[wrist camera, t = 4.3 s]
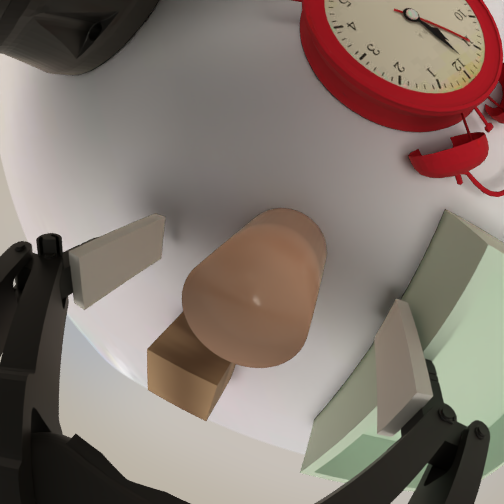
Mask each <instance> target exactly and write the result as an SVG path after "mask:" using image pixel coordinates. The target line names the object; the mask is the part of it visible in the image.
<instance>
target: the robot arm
mask: <svg viewBox="0 0 504 504" xmlns="http://www.w3.org/2000/svg"><path fill="white" fill-rule="evenodd" d="M158 1H159V0H0V53H2V54H5V55H7V56H10V57H12V58H15V59H17V60H19V61H22V62H24V63H27V64H29V65H31V66H33V67H36V68H38V69H40V70H42V71H45V72H47V73H51V74H62V75H79V74H83V73H86V72H88V71H91V70H93V69H94V68H96V67H98V66H99V65H101V64H102V63H104V62H105V61H106V60H108V59H109V58H110V57H111V56H113V55H114V54H115V53H116V52H117V51H118V50H119V49H120V48H121V47H122V46H123V45H124V44H125V43H126V42H127V41H128V40H129V39H130V38H131V37H132V36H133V35H134V33H135V32H136V31H137V30H138V29H139V28H140V26H141V25H142V24H143V22H144V21H145V20H146V19H147V17H148V16H149V14H150V13H151V11H152V10H153V9H154V7H155V5H156V4H157V2H158ZM165 218H166V217H164V216H161V215H159V214H156V213H155V214H153V215H150V216H148V217H145V218H143V219H140V220H138V221H135V222H133V223H131V224H128V225H126V226H124V227H121V228H119V229H117V230H114V231H112V232H110V233H107V234H105V235H103V236H101V237H97V238H93V239H91V240H89V241H87V242H84V243H82V244H81V245H78V246H76V247H73V248H71V249H69V250H67V251H65V252H63V251H62V237H61V236H60V235H58V234H54V233H48V234H44V235H41V236H39V237H38V238H37V239H36V241H37V250H38V254H35V253H33V252H32V244H30V243H29V242H24V241H21V242H17V243H15V244H13V245H12V246H11V247H10V248H9V249H7V250H6V251H5V252H4V253H3V254H2V256H0V356H1V354H2V353H3V354H2V358H1V362H0V504H190V503H188V502H186V501H183V500H181V499H179V498H177V497H175V496H173V495H171V494H169V493H167V492H164V491H160V490H157V489H153V488H150V487H147V486H144V485H140V484H137V483H134V482H132V481H129V480H127V479H126V478H125V477H124V476H123V475H122V474H121V473H120V472H119V471H118V470H117V469H116V468H115V467H114V466H113V465H112V464H111V463H110V462H109V461H108V460H107V459H106V458H105V456H103V454H102V453H101V452H99V451H98V450H97V449H95V448H94V447H92V446H91V445H90V444H88V443H87V442H86V441H85V440H83V439H82V438H81V437H79V436H78V435H77V434H75V435H74V436H73V437H72V438H70V437H67V436H64V435H63V434H62V430H61V427H60V423H59V416H58V415H59V379H60V378H59V377H60V364H61V353H62V344H63V335H64V328H65V321H66V315H67V309H68V303H69V301H68V295H70V294H72V293H73V297H74V303H75V304H77V305H78V306H79V307H81V308H82V309H84V310H85V309H87V308H88V307H90V306H91V305H92V304H94V303H95V302H97V301H98V300H100V299H101V298H103V297H104V296H106V295H107V294H108V293H110V292H111V291H113V290H114V289H116V288H117V287H119V286H120V285H122V284H123V283H125V282H126V281H128V280H129V279H131V278H132V277H134V276H135V275H137V274H138V273H140V272H141V271H143V270H144V269H146V268H147V267H149V266H150V265H152V264H153V263H155V262H157V261H158V260H160V259H161V255H162V245H163V235H164V226H165ZM14 278H15V282H16V285H15V286H14V287H13V281H14ZM374 342H375V357H376V376H377V434H378V435H383V436H389V437H393V436H394V435H395V434H396V433H397V432H398V431H400V430H401V438H400V439H399V440H397V441H396V442H395V443H394V444H393V445H392V446H390V447H389V448H388V449H387V450H386V451H385V452H384V453H383V454H382V455H381V456H380V457H378V458H377V459H376V460H375V461H374V462H372V463H371V464H370V465H369V466H367V467H366V468H365V469H364V470H362V471H361V472H360V473H359V474H357V475H356V476H355V477H353V478H352V479H351V480H349V481H348V482H346V483H345V484H344V485H342V486H341V487H340V488H338V489H337V490H335V491H334V492H332V493H331V494H329V495H328V496H326V497H324V498H323V499H321V500H320V501H318V502H317V503H315V504H390V503H391V502H392V501H393V500H394V499H395V498H396V497H397V496H398V495H399V494H400V493H401V492H402V491H403V490H404V489H405V488H406V487H407V486H408V485H409V484H410V483H411V481H412V480H413V479H414V478H415V477H416V476H417V475H418V474H419V472H420V471H421V470H422V469H423V468H424V467H425V465H426V464H427V463H428V465H427V467H426V470H425V472H424V474H423V476H422V478H421V480H420V482H419V484H418V486H417V488H416V490H415V491H414V493H413V495H412V497H411V499H410V501H409V503H408V504H474V502H475V499H476V496H477V493H478V489H479V486H480V482H481V479H482V475H483V471H484V467H485V463H486V458H487V453H488V448H489V443H490V432H489V429H488V427H487V425H486V424H484V423H483V422H482V421H479V420H475V421H473V422H472V423H471V424H470V425H468V426H465V425H463V424H461V423H459V422H457V416H456V413H455V411H454V410H453V409H452V407H450V406H449V405H448V404H446V403H444V401H443V397H442V392H441V388H440V384H439V382H438V381H439V380H438V376H437V372H436V369H435V366H434V364H433V362H432V361H431V360H428V359H425V358H424V354H423V350H422V347H421V343H420V339H419V336H418V332H417V329H416V326H415V322H414V319H413V316H412V313H411V310H410V307H409V304H408V302H405V301H402V300H399V299H396V300H395V302H394V304H393V306H392V307H391V309H390V311H389V313H388V315H387V317H386V318H385V320H384V322H383V324H382V326H381V327H380V329H379V331H378V333H377V334H376V336H375V338H374Z"/></svg>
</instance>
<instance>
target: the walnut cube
mask: <svg viewBox="0 0 504 504" xmlns="http://www.w3.org/2000/svg"><path fill="white" fill-rule="evenodd" d="M235 365H236V364H234V363H232V362H229V361H227V360H225V359H223V358H221V357H219V356H218V355H216V354H215V353H213V352H212V351H211V350H209V349H208V348H207V347H206V346H205V345H204V344H203V343H202V342H201V341H200V340H199V339H198V338H197V337H196V335H195V334H194V333H193V331H192V330H191V328H190V326H189V324H188V322H187V320H186V318H185V315H184V311H183V312H182V313H181V314H180V315H179V316H178V318H177V319H176V320H175V321H174V322H173V323H172V324H171V325H170V326H169V327H168V328H167V329H166V330H165V331H164V332H163V333H162V334H161V335H160V336H159V337H158V338H157V339H156V340H155V341H154V343H153V344H152V345H151V346H150V347H149V348H148V349H147V375H148V390H149V391H151V392H152V393H154V394H156V395H158V396H159V397H161V398H163V399H165V400H166V401H168V402H170V403H172V404H174V405H175V406H177V407H179V408H181V409H183V410H185V411H187V412H189V413H191V414H193V415H195V416H197V417H199V418H201V419H203V420H205V421H207V419H208V417H209V415H210V414H211V412H212V410H213V408H214V407H215V405H216V403H217V402H218V400H219V398H220V396H221V395H222V393H223V391H224V389H225V387H226V386H227V384H228V382H229V380H230V379H231V376H232V373H233V370H234V368H235Z"/></svg>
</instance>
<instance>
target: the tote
mask: <svg viewBox="0 0 504 504" xmlns="http://www.w3.org/2000/svg"><path fill="white" fill-rule="evenodd" d="M401 300H402V301H405V302H408V304H409V307H410V310H411V313H412V316H413V319H414V322H415V326H416V329H417V332H418V336H419V339H420V343H421V347H422V350H423V354H424V358H425V359H428V360H431V361H432V362H433V364H434V366H435V369H436V372H437V376H438V380H439V381H438V382H439V384H440V388H441V392H442V397H443V401H444V403H446V404H448V405H449V406H450V407H452V409H453V410H454V411H455V413H456V416H457V422H459V423H461V424H463V425H465V426H468V425H470V424H471V423H472V422H473V421H475V420H479V421H482V422H483V423H484V424H486V425H487V427H488V429H489V432H490V443H489V448H488V453H487V458H486V463H485V467H484V471H483V475H482V479H484V478H485V477H487V476H488V475H490V474H491V473H493V472H494V471H496V470H497V469H499V468H500V467H501V466H503V465H504V243H503V242H501V241H500V240H498V239H496V238H495V237H493V236H492V235H490V234H488V233H487V232H485V231H483V230H482V229H480V228H478V227H477V226H475V225H473V224H471V223H470V222H468V221H466V220H464V219H463V218H461V217H459V216H457V215H455V214H453V213H452V212H450V211H448V210H446V209H445V211H444V213H443V216H442V218H441V221H440V223H439V225H438V227H437V230H436V232H435V234H434V236H433V239H432V241H431V243H430V245H429V247H428V249H427V251H426V253H425V255H424V257H423V259H422V261H421V263H420V265H419V267H418V269H417V271H416V273H415V275H414V277H413V279H412V281H411V282H410V284H409V286H408V288H407V290H406V291H405V293H404V295H403V297H402V298H401ZM400 438H401V430H400V431H398V432H397V433H396V434H395V435H394V436H393V437H389V436H383V435H378V434H377V376H376V357H375V342H374V343H373V345H372V346H371V348H370V349H369V350H368V352H367V353H366V355H365V356H364V358H363V359H362V360H361V362H360V363H359V365H358V366H357V367H356V369H355V370H354V371H353V373H352V374H351V375H350V377H349V378H348V379H347V381H346V382H345V383H344V385H343V386H342V387H341V388H340V390H339V391H338V392H337V393H336V395H335V396H334V397H333V398H332V400H331V401H330V402H329V403H328V404H327V406H326V407H325V408H324V409H323V410H322V411H321V413H320V414H319V415H318V416H317V417H316V418H315V419H314V422H313V427H312V431H311V435H310V438H309V442H308V446H307V450H306V454H305V457H304V461H303V464H302V468H301V471H300V473H303V474H307V475H311V476H315V477H319V478H323V479H328V480H332V481H337V482H342V483H346V482H348V481H349V480H351V479H352V478H353V477H355V476H356V475H357V474H359V473H360V472H361V471H362V470H364V469H365V468H366V467H367V466H369V465H370V464H371V463H372V462H374V461H375V460H376V459H377V458H378V457H380V456H381V455H382V454H383V453H384V452H385V451H386V450H387V449H388V448H389V447H390V446H392V445H393V444H394V443H395V442H396V441H397V440H399V439H400ZM427 465H428V463H427V464H426V465H425V467H424V468H423V469H422V470H421V471H420V472H419V474H418V475H417V476H416V477H415V478H414V479H413V480H412V481H411V483H410V484H409V485H408V486H407V487H406V488H405V489H404V490H403V491H415V490H416V488H417V486H418V484H419V482H420V480H421V478H422V476H423V474H424V472H425V470H426V467H427ZM482 479H481V480H482Z"/></svg>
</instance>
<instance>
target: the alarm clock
mask: <svg viewBox="0 0 504 504" xmlns="http://www.w3.org/2000/svg"><path fill="white" fill-rule="evenodd" d="M293 1H299V2H302V13H301V18H300V36H301V42H302V46H303V49H304V52H305V55H306V57H307V60H308V62H309V64H310V66H311V67H312V69H313V71H314V73H315V74H316V76H317V77H318V78H319V80H320V81H321V82H322V84H323V85H324V86H325V87H326V88H327V90H328V91H329V92H330V93H331V94H332V95H333V96H334V97H336V98H337V99H338V100H339V101H340V102H341V103H343V104H344V105H345V106H347V107H348V108H349V109H351V110H352V111H354V112H355V113H357V114H359V115H360V116H362V117H364V118H366V119H368V120H370V121H372V122H375V123H377V124H379V125H382V126H385V127H389V128H392V129H397V130H402V131H409V132H428V131H436V130H440V129H444V128H447V127H450V126H452V125H455V124H457V123H459V122H460V121H461V120H463V122H464V125H465V127H466V130H467V134H462V135H458V136H454V137H451V138H450V139H451V141H452V143H453V148H451V149H447V150H444V151H440V152H436V153H433V154H428V155H423V156H422V154H421V153H420V151H419V149H417V150H415V151H413V152H411V153H410V154H409V155H408V156H409V159H410V161H411V163H412V165H413V167H414V169H415V170H416V171H417V172H418V173H420V174H421V175H423V176H426V177H430V178H444V177H451V176H455V178H456V180H457V184H458V185H461V184H462V183H463V181H462V178H461V175H460V174H465V175H467V176H468V178H469V179H470V180H471V181H472V182H473V184H474V185H475V186H476V187H478V188H479V189H480V190H481V191H482V192H483V193H485V194H487V195H489V196H494V197H500V196H503V195H504V190H502V191H499V192H494V191H490V190H488V189H486V188H485V187H483V186H482V185H481V184H480V183H479V182H478V181H477V180H476V179H475V178H474V177H473V176H472V175H471V173H470V172H469V171H470V170H472V169H473V168H475V167H477V166H479V165H480V164H481V163H482V162H483V161H484V160H485V159H486V157H487V155H488V150H489V147H488V141H487V138H486V135H485V133H484V132H475V133H470V131H469V128H468V125H467V123H466V120H465V118H466V117H467V116H468V115H469V114H470V113H471V112H472V111H473V109H475V111H476V112H477V114H478V115H479V116H480V118H481V119H482V121H483V122H484V124H485V125H486V127H485V130H486V131H487V132H488V133H489V132H490V131H491V130H492V129H493V125H492V124H491V123H488V122H487V121H486V119H485V118H484V116H483V115H482V113H481V112H480V110H479V109H478V108H477V106H478V105H480V104H481V103H482V102H483V101H485V100H486V99H487V98H488V99H489V100H490V101H492V102H493V103H494V104H495V105H496V106H498V107H496V108H492V107H489V106H488V105H486V104H485V109H486V112H487V113H488V114H489V115H490V116H491V117H492V118H493V119H494V120H496V121H498V122H500V123H503V124H504V63H503V50H502V42H501V38H500V34H499V31H498V28H497V26H496V23H495V21H494V19H493V17H492V15H491V13H490V11H489V10H488V8H487V6H486V5H485V3H484V2H483V0H293ZM498 81H499V82H500V84H501V85H502V91H503V97H502V101H501V103H500V105H499V104H498V103H497V102H496V101H494V100H493V99H492V98H491V97H490V96H489V95H490V94H491V92H492V91H493V90H494V88H495V86H496V85H497V83H498Z"/></svg>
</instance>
